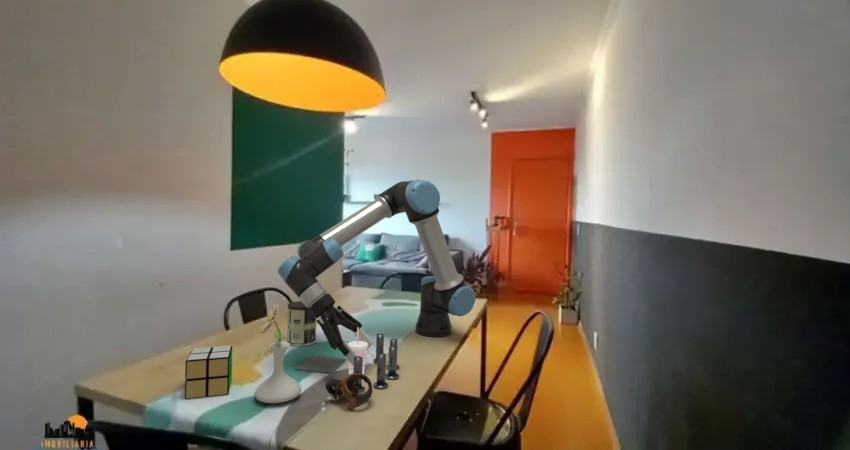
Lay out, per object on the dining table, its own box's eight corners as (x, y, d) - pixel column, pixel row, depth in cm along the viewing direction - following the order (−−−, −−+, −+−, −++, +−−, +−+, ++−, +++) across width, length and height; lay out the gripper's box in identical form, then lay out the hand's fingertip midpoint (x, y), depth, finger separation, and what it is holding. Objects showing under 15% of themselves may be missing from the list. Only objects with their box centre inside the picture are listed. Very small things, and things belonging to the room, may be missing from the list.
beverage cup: (370, 372, 126) (372, 326, 126) (359, 379, 121) (360, 331, 120) (353, 368, 129) (355, 323, 128) (341, 375, 123) (343, 328, 123)
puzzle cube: (191, 384, 113) (192, 347, 113) (231, 380, 117) (232, 345, 117) (184, 400, 104) (185, 360, 104) (228, 395, 108) (229, 357, 107)
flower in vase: (262, 388, 112) (264, 296, 112) (305, 388, 113) (307, 297, 112) (244, 411, 99) (247, 307, 98) (293, 411, 100) (296, 308, 99)
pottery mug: (368, 393, 113) (376, 373, 109) (364, 424, 104) (373, 403, 101) (324, 384, 110) (331, 362, 107) (317, 415, 102) (324, 393, 98)
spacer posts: (375, 359, 137) (376, 332, 137) (407, 362, 135) (408, 335, 135) (347, 392, 111) (348, 359, 111) (387, 397, 110) (388, 363, 109)
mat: (311, 356, 138) (311, 355, 138) (346, 359, 136) (346, 358, 136) (294, 369, 126) (294, 368, 126) (331, 373, 124) (331, 372, 124)
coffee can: (314, 336, 159) (315, 300, 158) (317, 345, 149) (318, 306, 149) (285, 338, 155) (286, 301, 154) (287, 347, 145) (288, 307, 145)
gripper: (326, 300, 139) (367, 348, 137) (289, 318, 114) (339, 378, 112) (341, 285, 138) (383, 334, 136) (308, 301, 113) (359, 360, 111)
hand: (364, 354), depth 124 cm, fingers open, 13 cm apart
